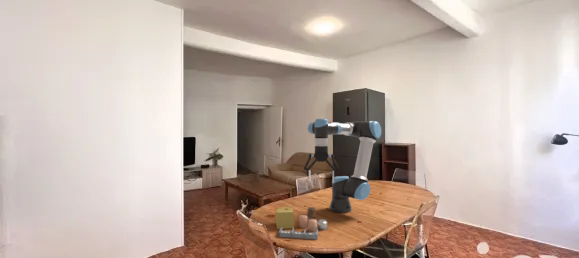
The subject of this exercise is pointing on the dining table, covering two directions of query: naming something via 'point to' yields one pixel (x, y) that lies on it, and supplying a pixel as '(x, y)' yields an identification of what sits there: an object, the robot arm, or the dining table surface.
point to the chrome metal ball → (321, 224)
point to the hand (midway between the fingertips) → (321, 182)
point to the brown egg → (303, 221)
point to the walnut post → (311, 213)
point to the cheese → (285, 218)
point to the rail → (298, 234)
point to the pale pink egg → (312, 225)
